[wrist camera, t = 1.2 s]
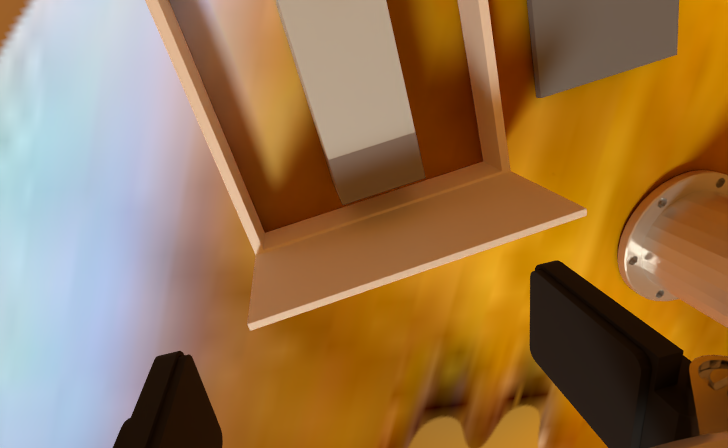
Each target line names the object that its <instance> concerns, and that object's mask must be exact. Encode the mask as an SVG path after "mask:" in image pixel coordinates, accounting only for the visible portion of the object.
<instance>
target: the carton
mask: <svg viewBox="0 0 728 448" xmlns="http://www.w3.org/2000/svg"><path fill="white" fill-rule="evenodd" d="M145 1H146V3H147V6H148V8H149V10H150V12H151V15H152V17H153V19H154V22H155V24H156V26H157V29H158V31H159V33H160V36H161V38H162V40H163V42H164V45H165V47H166V49H167V52H168V54H169V56H170V59H171V61H172V63H173V65H174V68H175V70H176V72H177V75H178V77H179V79H180V82H181V84H182V86H183V88H184V91H185V93H186V95H187V98H188V100H189V102H190V105H191V107H192V109H193V112H194V114H195V116H196V118H197V121H198V123H199V125H200V128H201V130H202V132H203V135H204V137H205V139H206V141H207V144H208V146H209V148H210V151H211V153H212V155H213V158H214V160H215V162H216V165H217V167H218V169H219V171H220V174H221V176H222V178H223V181H224V183H225V185H226V188H227V190H228V192H229V194H230V197H231V199H232V201H233V204H234V206H235V208H236V211H237V213H238V215H239V218H240V220H241V222H242V224H243V227H244V229H245V231H246V234H247V236H248V238H249V241H250V243H251V245H252V247H253V250H254V252H255V254H256V259H255V267H254V275H253V283H252V291H251V299H250V307H249V315H248V323H247V325H248V327H249V329H250V331H251V330H254V329H257V328H259V327H262V326H265V325H268V324H271V323H274V322H277V321H280V320H283V319H286V318H289V317H292V316H294V315H297V314H300V313H303V312H306V311H309V310H312V309H315V308H318V307H321V306H324V305H327V304H330V303H332V302H335V301H338V300H341V299H344V298H347V297H350V296H353V295H356V294H359V293H362V292H365V291H367V290H370V289H373V288H376V287H379V286H382V285H385V284H388V283H391V282H394V281H397V280H400V279H402V278H405V277H408V276H411V275H414V274H417V273H420V272H423V271H426V270H429V269H432V268H435V267H438V266H440V265H443V264H446V263H449V262H452V261H455V260H458V259H461V258H464V257H467V256H470V255H473V254H475V253H478V252H481V251H484V250H487V249H490V248H493V247H496V246H499V245H502V244H505V243H508V242H511V241H513V240H516V239H519V238H522V237H525V236H528V235H531V234H534V233H537V232H540V231H543V230H546V229H548V228H551V227H554V226H557V225H560V224H563V223H566V222H569V221H572V220H575V219H578V218H581V217H583V216H586V215H587V211H586V208H584V207H582V206H580V205H578V204H576V203H574V202H572V201H570V200H568V199H566V198H564V197H562V196H560V195H558V194H556V193H554V192H552V191H550V190H548V189H546V188H544V187H542V186H540V185H538V184H535V183H533V182H531V181H529V180H527V179H525V178H523V177H521V176H519V175H517V174H515V173H513V172H511V171H510V164H509V156H508V149H507V141H506V134H505V126H504V118H503V111H502V103H501V96H500V88H499V81H498V73H497V65H496V58H495V50H494V43H493V35H492V27H491V20H490V12H489V5H488V0H458V5H459V12H460V18H461V24H462V31H463V37H464V43H465V49H466V56H467V62H468V68H469V75H470V81H471V87H472V94H473V100H474V106H475V113H476V119H477V125H478V132H479V138H480V144H481V151H482V157H483V162H480V163H477V164H474V165H471V166H467V167H464V168H461V169H458V170H455V171H452V172H449V173H446V174H443V175H440V176H437V177H434V178H431V179H428V180H425V181H422V182H419V183H416V184H413V185H410V186H406V187H403V188H400V189H397V190H394V191H391V192H388V193H385V194H382V195H379V196H376V197H373V198H370V199H367V200H364V201H361V202H358V203H355V204H352V205H348V206H345V207H342V208H339V209H336V210H333V211H330V212H327V213H324V214H321V215H318V216H315V217H312V218H309V219H306V220H303V221H300V222H297V223H294V224H290V225H287V226H284V227H281V228H278V229H275V230H272V231H269V232H266V233H265V232H264V230H263V227H262V225H261V222H260V220H259V217H258V215H257V213H256V210H255V208H254V205H253V203H252V201H251V198H250V196H249V193H248V191H247V188H246V186H245V184H244V181H243V179H242V176H241V174H240V171H239V169H238V167H237V164H236V162H235V159H234V157H233V155H232V152H231V150H230V147H229V145H228V142H227V140H226V138H225V135H224V133H223V130H222V128H221V126H220V123H219V121H218V118H217V116H216V113H215V111H214V109H213V106H212V104H211V101H210V99H209V96H208V94H207V92H206V89H205V87H204V84H203V82H202V80H201V77H200V75H199V72H198V70H197V67H196V65H195V63H194V60H193V58H192V55H191V53H190V50H189V48H188V46H187V43H186V41H185V38H184V36H183V34H182V31H181V29H180V26H179V24H178V21H177V19H176V17H175V14H174V12H173V9H172V7H171V5H170V2H169V0H145Z"/></svg>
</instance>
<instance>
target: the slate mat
mask: <svg viewBox="0 0 728 448" xmlns="http://www.w3.org/2000/svg"><path fill="white" fill-rule="evenodd" d="M527 6H528V16H529V27H530V37H531V47H532V57H533V68H534V78H535V88H536V97H537V98H543V97H546V96H549V95H552V94H555V93H558V92H562V91H565V90H568V89H571V88H574V87H577V86H580V85H583V84H587V83H590V82H593V81H596V80H599V79H602V78H605V77H608V76H611V75H615V74H618V73H621V72H624V71H627V70H630V69H633V68H636V67H640V66H643V65H646V64H649V63H652V62H655V61H658V60H661V59H665V58H668V57H671V56H674V55H677V39H678V12H679V0H527Z"/></svg>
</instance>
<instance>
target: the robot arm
mask: <svg viewBox="0 0 728 448" xmlns="http://www.w3.org/2000/svg"><path fill="white" fill-rule="evenodd" d="M618 266H619V271H620V274H621V276H622V278H623V280H624V282H625V283H626V284H627V285H628V286H629V288H631V289H632V290H634V291H635V292H637V293H638V294H639V295H641V296H643V297H645V298H647V299H650V300H655V301H670V300H675V299H681V300H682V301H684V302H686V303H687V304H689V305H691V306H692V307H694V308H696V309H697V310H699V311H701V312H702V313H704V314H706V315H707V316H709V317H711V318H712V319H714V320H715V321H717V322H719V323H720V324H722V325H724V326H725V327H727V328H728V175H727V174H723V173H719V172H716V171H710V170H697V171H690V172H687V173H684V174H681V175H678V176H676V177H674V178H672V179H670V180H668V181H666V182H664V183H663V184H662V185H660V186H659V187H658V188H656V189H655V190H654V191H652V192H651V193H650V194H649V195H648V196H647V197H646V198H645V199H644V200H643V201H642V202H641V203H640V205H639V206H638V207H637V208H636V210H635V211H634V212H633V214H632V215H631V217H630V219H629V221H628V222H627V224H626V226H625V229H624V231H623V234H622V236H621V239H620V244H619V248H618ZM530 351H531V354H532V357H533V358H534V360H535V361H536V363H537V364H538V365H539V366H540V367H541V368H542V370H543V371H544V372H545V373H546V374H547V376H548V377H549V378H550V379H551V380H552V381H553V383H554V384H555V385H556V386H557V387H558V389H559V390H560V391H561V392H562V393H563V394H564V396H565V397H566V398H567V399H568V400H569V402H570V403H571V404H572V405H573V406H574V408H575V409H576V410H577V411H578V412H579V413H580V415H581V416H582V417H583V418H584V419H585V421H586V422H587V423H588V424H589V425H590V426H591V428H592V429H593V430H594V431H595V432H596V434H597V435H598V436H599V437H600V438H601V439H602V441H603V442H604V443H605V444H606V445H607V447H608V448H728V356H721V355H705V356H701V357H698V358H695V359H694V360H693V361H692V362H691V361H690V360H689V359H687V358H686V357H685V356H683V350H682V349H680V348H679V347H677V346H676V345H675V344H673V343H672V342H671V341H669V340H668V339H666V338H665V337H664V336H662V335H661V334H660V333H658V332H657V331H655V330H654V329H653V328H651V327H650V326H649V325H647V324H646V323H644V322H643V321H642V320H640V319H639V318H638V317H636V316H635V315H633V314H632V313H631V312H629V311H628V310H626V309H625V308H624V307H622V306H621V305H620V304H618V303H617V302H615V301H614V300H613V299H611V298H610V297H609V296H607V295H606V294H604V293H603V292H602V291H600V290H599V289H598V288H596V287H595V286H593V285H592V284H591V283H589V282H588V281H587V280H585V279H584V278H582V277H581V276H580V275H578V274H577V273H576V272H574V271H573V270H571V269H570V268H569V267H567V266H566V265H564V264H563V263H562V262H560V261H552V262H548V263H544V264H539V265H537V266H536V268H535V271H533V272H532V273H531V276H530ZM113 448H222V432H221V428H220V426H219V423H218V421H217V418H216V416H215V413H214V411H213V408H212V406H211V403H210V401H209V398H208V396H207V393H206V391H205V388H204V386H203V383H202V381H201V378H200V376H199V373H198V371H197V368H196V366H195V363H194V361H193V358H192V356H191V355H184V354H183V352H182V351H177V352H173V353H169V354H165V355H160V356H157V357H156V358H155V360H154V362H153V364H152V367H151V369H150V372H149V374H148V377H147V379H146V382H145V384H144V387H143V389H142V391H141V394H140V396H139V399H138V401H137V404H136V406H135V409H134V411H133V414H132V416H131V418H129V419H128V420H126V421H125V422H124V424H123V426H122V427H121V430H120V432H119V434H118V437H117V439H116V441H115V444H114V446H113Z"/></svg>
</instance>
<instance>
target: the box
mask: <svg viewBox="0 0 728 448" xmlns="http://www.w3.org/2000/svg"><path fill="white" fill-rule="evenodd" d="M276 5H277V8H278V11H279V15H280V18H281V21H282V24H283V27H284V30H285V33H286V36H287V40H288V43H289V46H290V49H291V52H292V55H293V58H294V62H295V65H296V68H297V71H298V74H299V77H300V80H301V83H302V87H303V90H304V93H305V96H306V99H307V102H308V105H309V108H310V112H311V115H312V118H313V121H314V124H315V127H316V130H317V133H318V137H319V140H320V143H321V146H322V150H323V153H324V156H325V159H326V162H327V165H328V168H329V171H330V175H331V178H332V181H333V184H334V186H335V189H336V191H337V193H338V196H339V198H340V200H341V203H342V205H345V204H348V203H351V202H354V201H357V200H360V199H363V198H366V197H369V196H373V195H376V194H379V193H382V192H385V191H388V190H391V189H394V188H397V187H400V186H403V185H406V184H409V183H412V182H415V181H418V180H421V179H425V178H426V177H425V172H424V168H423V163H422V159H421V154H420V150H419V145H418V141H417V136H416V132H415V128H414V124H413V119H412V115H411V110H410V106H409V101H408V97H407V92H406V88H405V83H404V79H403V74H402V70H401V65H400V61H399V56H398V52H397V47H396V43H395V38H394V34H393V29H392V25H391V20H390V15H389V11H388V6H387V2H386V0H276Z"/></svg>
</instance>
